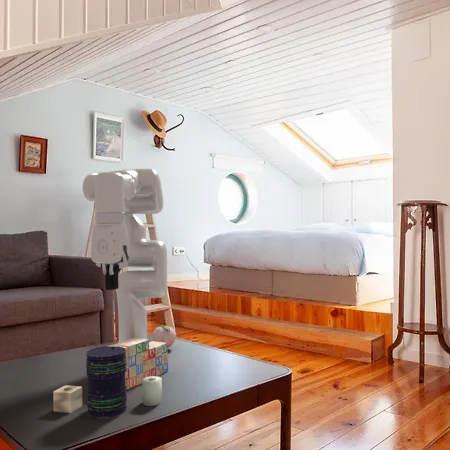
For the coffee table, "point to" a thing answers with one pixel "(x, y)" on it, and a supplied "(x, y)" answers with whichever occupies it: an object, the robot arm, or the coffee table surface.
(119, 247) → the robot arm
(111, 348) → the storage jar
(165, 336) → the decorative fruit
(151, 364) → the stack of blocks
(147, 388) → the sage cylinder
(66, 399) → the maple cube
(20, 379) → the coffee table surface
